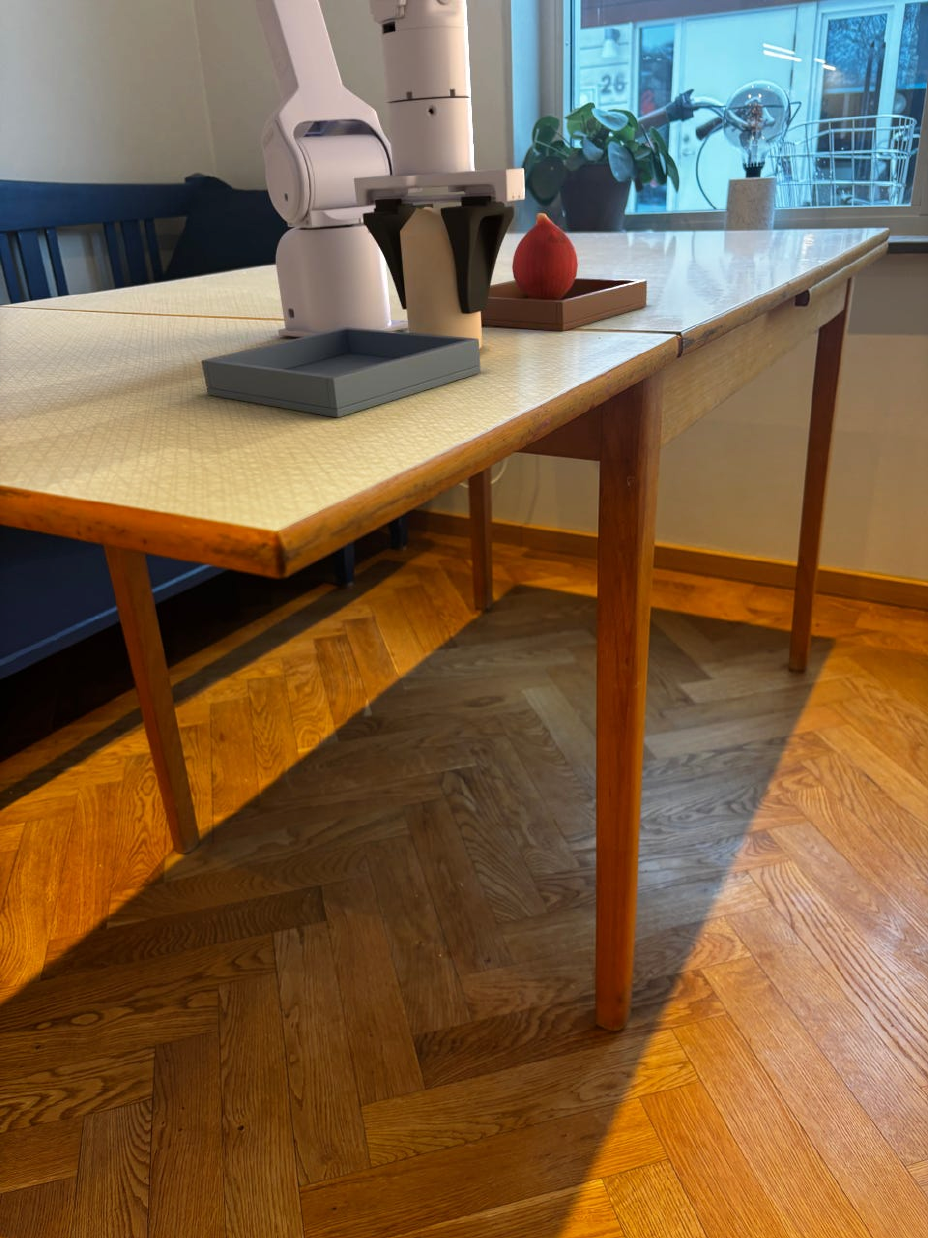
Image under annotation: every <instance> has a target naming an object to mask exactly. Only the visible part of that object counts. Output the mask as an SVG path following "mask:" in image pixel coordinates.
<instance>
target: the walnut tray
mask: <svg viewBox="0 0 928 1238" xmlns="http://www.w3.org/2000/svg"><path fill="white" fill-rule="evenodd" d="M647 290H648V280H647V279H625V278H622V279H620V278H618V279H617V278H591V277H590V278H589V277H586V278H585V277H576V278H575V280H574V283H573V285H572V287H571V288H570V289H569V290H568V291H567V293H566V294H565V295H563V296H562V297H561V298H560V299H559V300H558V301H556V300H536V299H530V298H529V297H528V296H527V295H526V294H525V293H524V292H523V291H522V290H521V289H520V288H519V287H518V285H517V283H516V281H515V279H513V280H509V281H504V282H500V283H496V284H495V283H494V284H491V285H490V290H489V296H488V302H487V308H486V310H484V311H481V326H490V327H503V328H516V329H530V330H543V331H554V332H555V331H556V332H563V331H569V330H571V329H575V328H577V327H581V326H584V325H585V326H586V325H588V324H591V323H595V322H598V321H602V320H605V319H608V318H612V317H616V316H619V315H622V314H627V313H629V312H632V311H636V310H639V309H643V308H646V307H647V298H648V297H647V295H648V292H647Z"/></svg>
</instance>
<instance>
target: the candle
mask: <svg viewBox="0 0 928 1238" xmlns="http://www.w3.org/2000/svg"><path fill="white" fill-rule="evenodd" d="M456 206H459V205H458V204H457V205H456ZM446 207H454V206H453V205H451V206H450V205H446V206H443V207H442V208H446ZM440 209H441V208H438V209H437V208H434V207H433V208H431V207H424V208H423V209H418V208H416V210H415V212H414V213H413V215H412V216H411V217H410V219H409V220H408V221H407V222H406V224H405V225H404V226H403V228H402V229H401V231H400V238H401V250H402V261H403V273H404V284H405V296H406V307H407V310H406V318H407V321H408V328H407V331H408V333H419V334H430V335H442V336H453V337H465V338H476V339H479V350H480V349H481V348H482V347H483V336H482V335H483V333H482V325H481V311H480V312H476V313H471V314H463V313H462V311H461V307H460V303H459V297H458V287H457V276H456V266H455V261H454V255H453V251H452V247H451V243H450V239H449V236H448V233H447V229H446V227H445V224H444V221H443V219H442V216H441V210H440Z"/></svg>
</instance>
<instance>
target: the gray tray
mask: <svg viewBox="0 0 928 1238" xmlns="http://www.w3.org/2000/svg"><path fill="white" fill-rule="evenodd" d="M480 356H481V355H480V349H479V339H476V338H465V337H453V336H442V335H430V334H419V333H409V332H406V331H397V330H396V331H384V330H372V329H361V328H349V327H346V328H341V329H337V330H332V331H328V332H324V333H319V334H315V335H311V336H306V337H296V338H294V339H289V340H285V341H281V342H276V343H271V344H267V345H263V346H259V347H254V348H249V349H246V350H241V351H236V352H231V353H227V354H223V355H219V356H215V357H210V358H206V359H202V360H201V366H202V367H201V368H202V372H203V377H204V383H205V387H206V393H207V396H213V397H220V398H225V399H231V400H236V401H242V402H247V403H252V404H257V405H258V404H259V405H265V406H270V407H276V408H281V409H287V410H291V411H299V412H303V413H310V414H315V415H320V416H327V417H332V418H342V417H345V416H348V415H351V414H354V413H357V412H360V411H364V410H367V409H370V408H373V407H376V406H380V405H383V404H386V403H389V402H392V401H396V400H399V399H402V398H405V397H408V396H412V395H414V394H417V393H421V392H424V391H428V390H431V389H434V388H437V387H441V386H443V385H446V384H449V383H453V382H455V381H459V380H463V379H465V378H469V377H472V376H475V375H478V374H481V373H482V372H481V357H480Z"/></svg>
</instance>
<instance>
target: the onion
mask: <svg viewBox="0 0 928 1238" xmlns="http://www.w3.org/2000/svg"><path fill="white" fill-rule="evenodd" d="M535 219H536V221H535V225H534V226H533V227H532V228H531V229H530V230H528V231H527V232H526V233H525V234H524V236H523V237H522V238H521V240H520V241H519V243H518V244H517V246H516V249H515V251H514V255H513V258H512V264H511V265H512V266H511V269H512V275H513V280H515V281H516V283H517V285H518V287H519V288H520V289H521V290H522V291H523V292H524V293H525V294H526V295H527V296H528V297H529V298H530V299H536V300H556V301H558V300H559V299H560V298H561V297H562V296H563V295H565V294H566V293H567V291H568V290H569V289H570V288H571V287H572V285H573V283H574V280H575V278H577V276H578V267H579V261H578V254H577V251H576V248H575V246H574V244H573V242H572V240H571V239H570V238H569V236H568V235H567V234H566V233H565V232H564V231H563V230H562V229H561V228H560V227H559V226H557V225H556V224H555V223H554V222H553V221H552V220H551V219H550V218H549V217H548V216H547V214H546V213H542V212H538V213H537V214H536V215H535Z"/></svg>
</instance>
